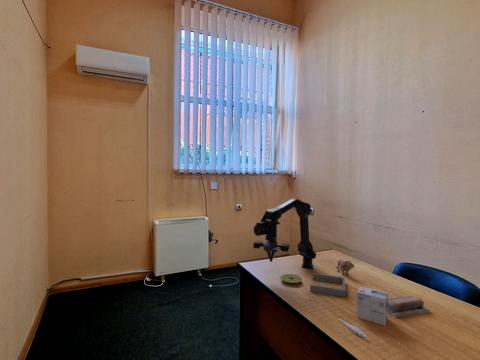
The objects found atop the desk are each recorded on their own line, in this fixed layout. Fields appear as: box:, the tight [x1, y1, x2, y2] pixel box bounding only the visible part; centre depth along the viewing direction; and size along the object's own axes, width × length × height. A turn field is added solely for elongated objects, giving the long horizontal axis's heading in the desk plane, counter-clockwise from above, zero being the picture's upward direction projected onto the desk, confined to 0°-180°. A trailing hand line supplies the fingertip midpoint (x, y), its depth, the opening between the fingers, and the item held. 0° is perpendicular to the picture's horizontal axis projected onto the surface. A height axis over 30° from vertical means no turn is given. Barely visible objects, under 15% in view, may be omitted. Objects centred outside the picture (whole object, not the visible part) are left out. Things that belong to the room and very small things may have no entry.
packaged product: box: [387, 295, 431, 318], centre depth 116 cm, size 18×5×10 cm
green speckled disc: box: [280, 273, 303, 284], centre depth 142 cm, size 11×11×2 cm
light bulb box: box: [355, 286, 389, 326], centre depth 109 cm, size 11×7×11 cm, turn 56°
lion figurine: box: [335, 259, 355, 277], centre depth 154 cm, size 15×5×9 cm, turn 14°
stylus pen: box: [336, 317, 368, 341], centre depth 101 cm, size 15×3×2 cm, turn 22°
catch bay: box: [309, 272, 346, 298], centre depth 136 cm, size 16×16×3 cm
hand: (271, 261), depth 146 cm, fingers closed
